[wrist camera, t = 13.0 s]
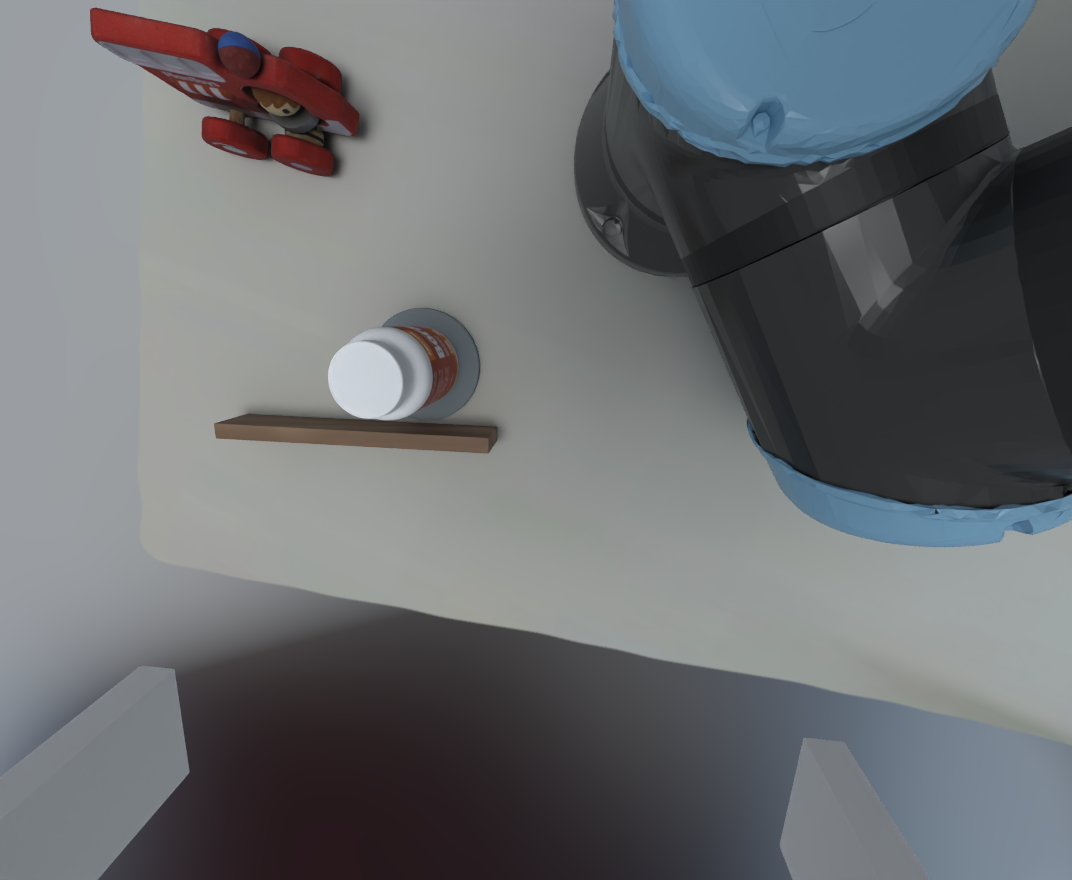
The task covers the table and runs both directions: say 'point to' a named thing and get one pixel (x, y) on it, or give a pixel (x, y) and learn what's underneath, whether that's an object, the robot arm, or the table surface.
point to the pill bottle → (392, 371)
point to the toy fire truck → (240, 86)
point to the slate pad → (464, 352)
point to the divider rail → (359, 433)
